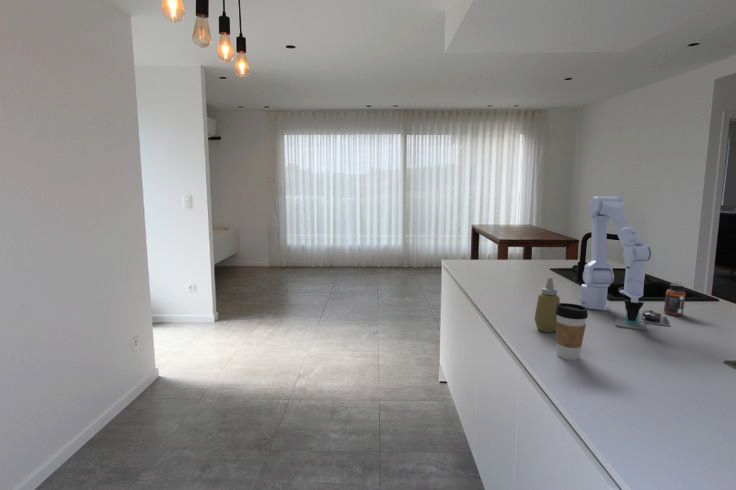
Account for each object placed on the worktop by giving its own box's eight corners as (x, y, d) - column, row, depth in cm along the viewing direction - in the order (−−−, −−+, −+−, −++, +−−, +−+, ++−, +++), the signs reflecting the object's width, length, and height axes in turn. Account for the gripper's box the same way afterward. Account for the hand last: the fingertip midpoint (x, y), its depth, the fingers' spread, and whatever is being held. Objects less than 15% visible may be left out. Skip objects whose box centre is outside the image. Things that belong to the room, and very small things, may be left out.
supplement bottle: (685, 317, 159) (689, 287, 158) (666, 315, 161) (670, 285, 159) (679, 312, 165) (683, 283, 163) (661, 310, 167) (665, 282, 165)
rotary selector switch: (635, 321, 154) (636, 313, 153) (634, 314, 162) (634, 306, 162) (669, 326, 149) (670, 318, 148) (665, 318, 158) (666, 310, 157)
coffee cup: (546, 350, 127) (550, 301, 125) (573, 349, 128) (577, 301, 126) (561, 362, 119) (565, 310, 117) (590, 361, 120) (595, 309, 118)
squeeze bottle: (558, 327, 147) (562, 276, 145) (560, 335, 140) (564, 281, 137) (533, 324, 150) (536, 274, 147) (534, 332, 142) (537, 279, 140)
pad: (615, 326, 149) (615, 324, 148) (614, 319, 156) (615, 317, 156) (646, 331, 144) (646, 329, 144) (644, 323, 152) (644, 321, 152)
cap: (621, 320, 153) (623, 306, 152) (637, 321, 152) (638, 308, 151) (625, 324, 148) (627, 310, 148) (641, 326, 147) (643, 312, 146)
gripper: (619, 274, 156) (616, 310, 158) (622, 282, 143) (618, 321, 145) (642, 276, 153) (638, 313, 155) (647, 285, 140) (643, 325, 142)
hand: (630, 317), depth 150 cm, fingers open, 7 cm apart
